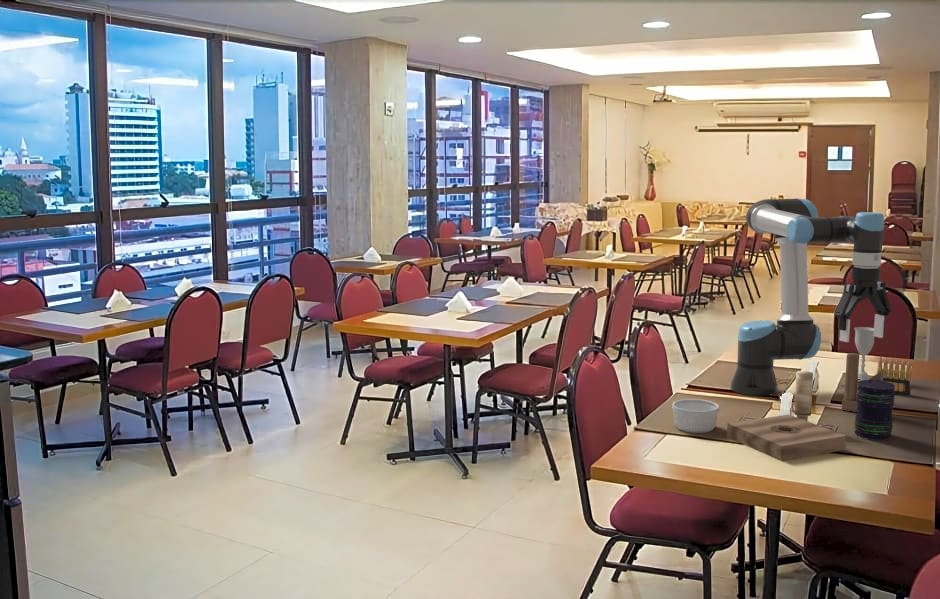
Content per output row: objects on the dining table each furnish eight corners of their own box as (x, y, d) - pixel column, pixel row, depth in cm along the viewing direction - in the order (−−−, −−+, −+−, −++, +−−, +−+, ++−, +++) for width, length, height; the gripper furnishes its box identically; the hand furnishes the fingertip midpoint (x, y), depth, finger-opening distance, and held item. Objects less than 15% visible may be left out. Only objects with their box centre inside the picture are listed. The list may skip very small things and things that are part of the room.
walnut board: (726, 436, 256) (727, 423, 255) (788, 427, 264) (789, 414, 264) (780, 460, 236) (781, 445, 235) (845, 450, 244) (846, 435, 243)
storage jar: (899, 439, 253) (903, 387, 250) (867, 441, 251) (870, 389, 249) (877, 429, 262) (881, 379, 260) (846, 431, 261) (850, 380, 259)
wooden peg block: (878, 416, 275) (882, 358, 272) (841, 410, 282) (844, 354, 279) (881, 413, 278) (885, 356, 275) (844, 408, 284) (848, 352, 282)
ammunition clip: (874, 391, 304) (877, 356, 302) (875, 390, 306) (878, 355, 304) (909, 396, 298) (912, 360, 296) (910, 394, 300) (913, 359, 298)
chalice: (874, 377, 322) (878, 328, 319) (871, 381, 317) (874, 331, 314) (852, 375, 326) (855, 326, 323) (849, 379, 321) (852, 329, 318)
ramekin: (689, 437, 256) (690, 413, 255) (662, 424, 268) (663, 401, 267) (727, 431, 262) (728, 407, 260) (698, 419, 273) (699, 396, 272)
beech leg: (789, 424, 267) (792, 371, 265) (802, 422, 269) (805, 370, 267) (801, 428, 263) (804, 375, 260) (814, 427, 265) (817, 373, 262)
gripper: (844, 270, 250) (839, 345, 254) (908, 265, 260) (902, 337, 264) (823, 267, 257) (819, 340, 260) (886, 262, 267) (881, 332, 271)
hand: (861, 339), depth 262 cm, fingers open, 13 cm apart
